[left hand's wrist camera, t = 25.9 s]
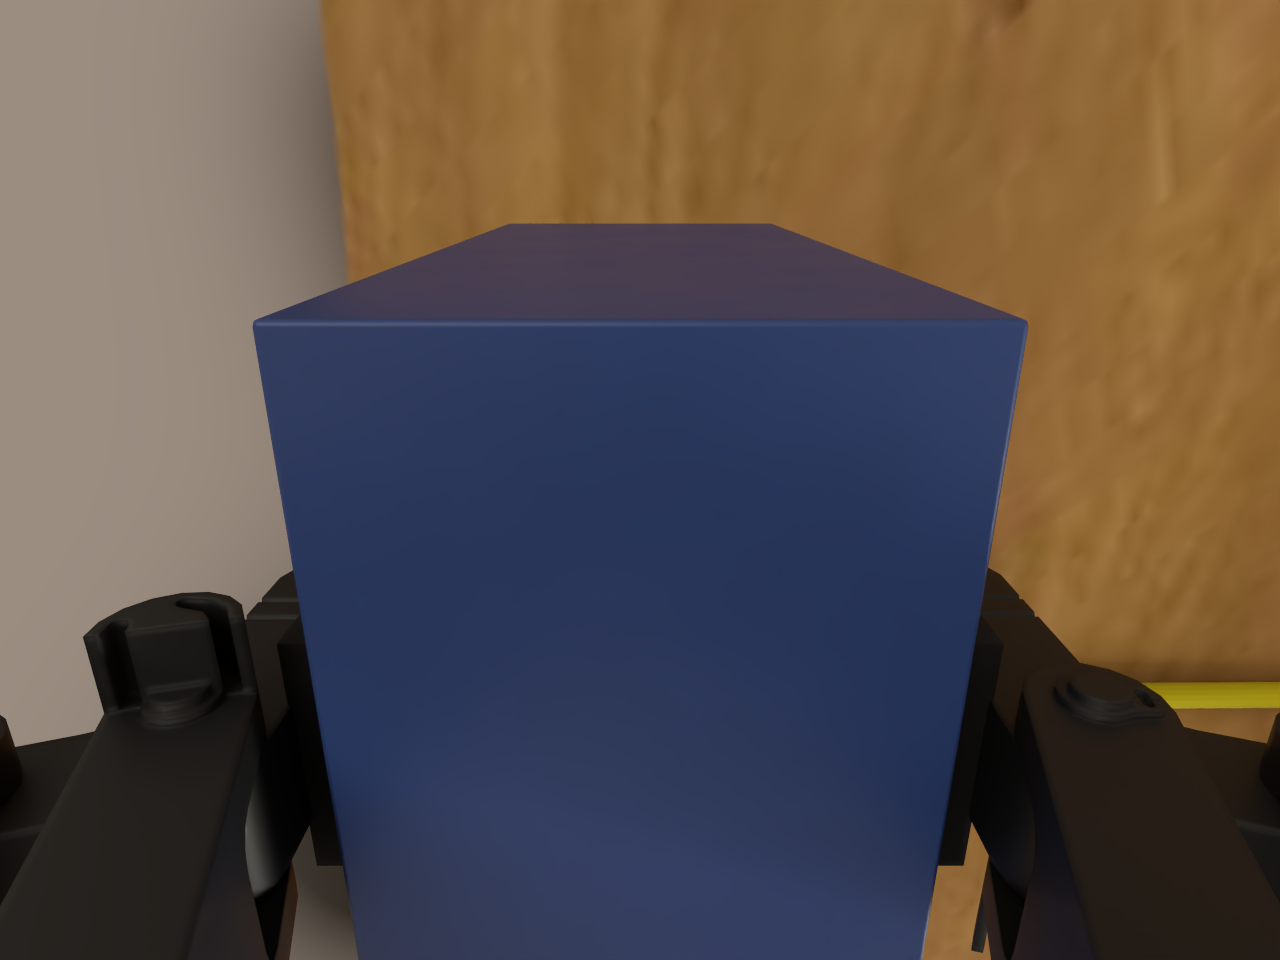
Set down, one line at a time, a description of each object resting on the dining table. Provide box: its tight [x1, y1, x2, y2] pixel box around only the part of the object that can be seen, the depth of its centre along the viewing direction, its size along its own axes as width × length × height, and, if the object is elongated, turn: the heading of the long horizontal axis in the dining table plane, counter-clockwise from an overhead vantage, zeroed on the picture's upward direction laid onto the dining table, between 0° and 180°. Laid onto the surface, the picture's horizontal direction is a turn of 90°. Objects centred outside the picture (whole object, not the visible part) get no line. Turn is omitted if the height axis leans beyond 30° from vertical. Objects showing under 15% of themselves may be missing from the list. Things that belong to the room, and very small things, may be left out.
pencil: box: [1142, 682, 1280, 708], centre depth 32 cm, size 16×1×1 cm, turn 90°
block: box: [253, 224, 1028, 960], centre depth 13 cm, size 9×5×12 cm, turn 0°
